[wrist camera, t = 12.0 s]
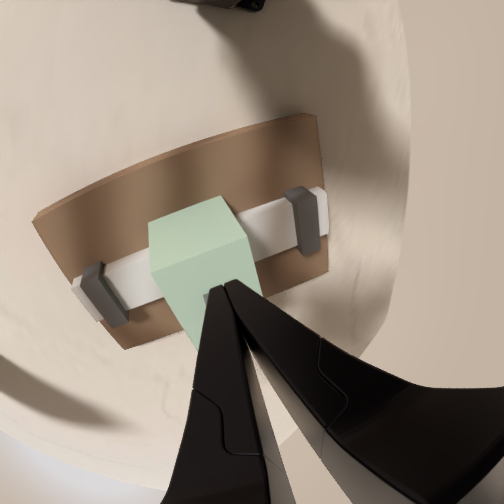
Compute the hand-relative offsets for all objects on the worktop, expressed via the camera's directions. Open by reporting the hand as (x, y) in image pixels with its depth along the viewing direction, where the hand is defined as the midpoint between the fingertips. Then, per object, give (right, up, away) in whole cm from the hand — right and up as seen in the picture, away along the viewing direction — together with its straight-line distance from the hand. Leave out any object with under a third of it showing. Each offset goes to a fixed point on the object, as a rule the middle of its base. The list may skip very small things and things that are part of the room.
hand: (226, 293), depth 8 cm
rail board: (-3, +2, +13) cm, 13 cm away
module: (-3, +1, +11) cm, 12 cm away
